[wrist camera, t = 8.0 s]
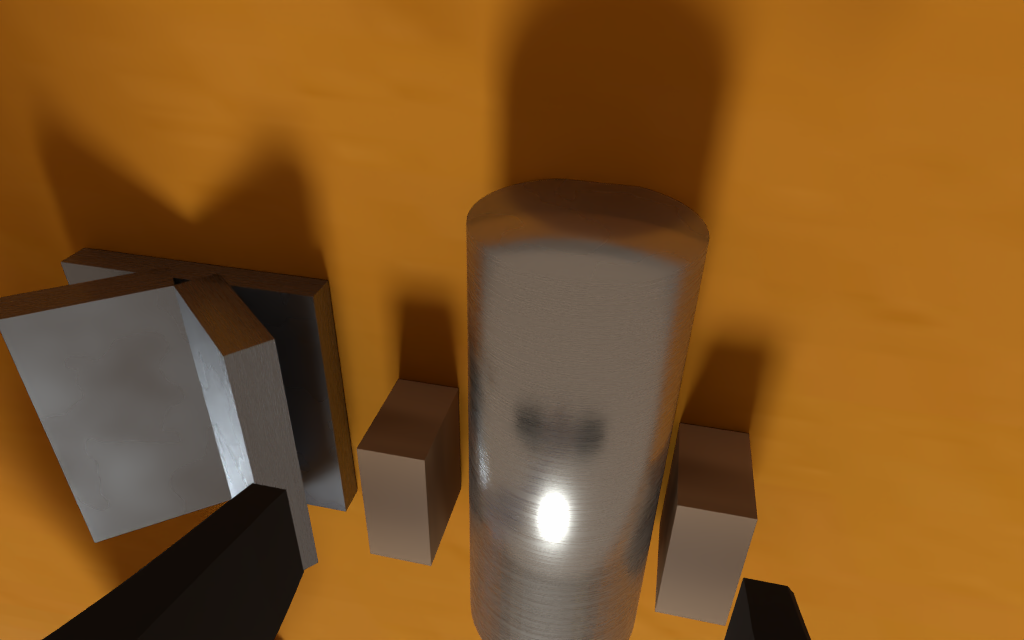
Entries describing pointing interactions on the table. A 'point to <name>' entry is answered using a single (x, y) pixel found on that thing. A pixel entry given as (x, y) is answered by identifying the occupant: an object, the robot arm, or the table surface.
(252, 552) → the robot arm
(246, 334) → the v block
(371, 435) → the blocks
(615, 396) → the axle
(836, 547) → the table surface
